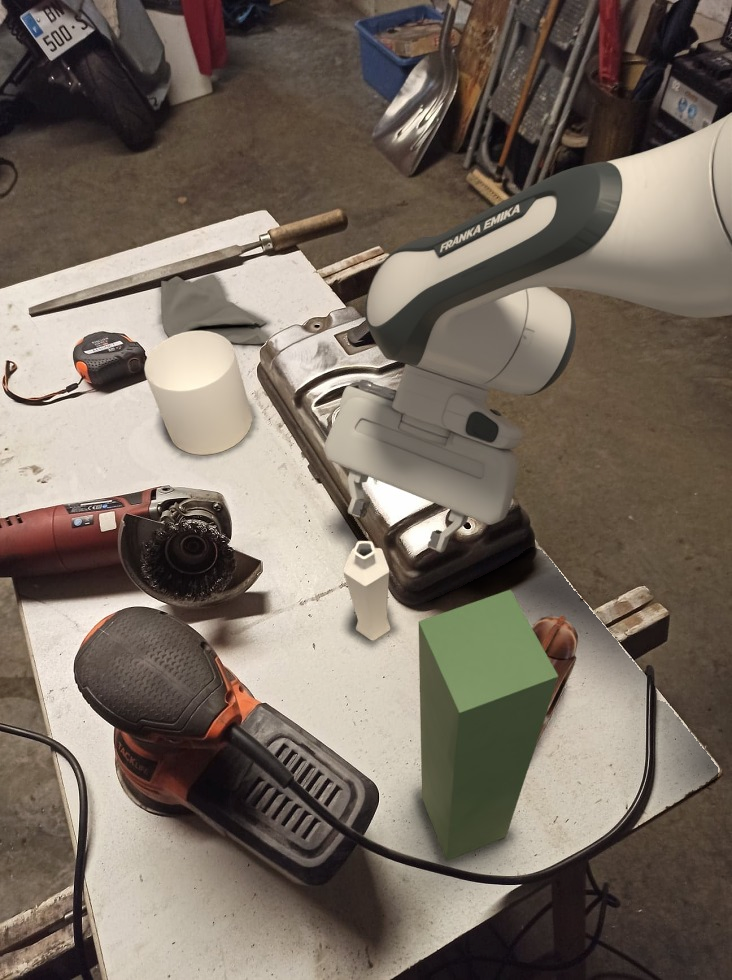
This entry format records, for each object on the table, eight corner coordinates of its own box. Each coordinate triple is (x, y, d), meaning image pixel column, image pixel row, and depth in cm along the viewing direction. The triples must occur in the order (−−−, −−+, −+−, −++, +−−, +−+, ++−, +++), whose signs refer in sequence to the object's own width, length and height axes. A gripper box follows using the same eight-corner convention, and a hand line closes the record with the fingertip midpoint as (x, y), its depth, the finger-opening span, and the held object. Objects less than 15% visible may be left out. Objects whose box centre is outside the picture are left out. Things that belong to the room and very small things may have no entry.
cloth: (132, 296, 124) (128, 285, 122) (204, 264, 128) (201, 252, 127) (205, 378, 110) (202, 367, 108) (283, 339, 114) (281, 327, 113)
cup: (172, 400, 108) (147, 335, 98) (251, 390, 108) (235, 325, 98) (166, 460, 100) (140, 396, 91) (252, 450, 100) (234, 385, 91)
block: (506, 836, 68) (559, 676, 41) (446, 861, 67) (459, 713, 40) (479, 774, 72) (510, 588, 45) (421, 796, 71) (418, 621, 44)
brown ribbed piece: (523, 771, 72) (542, 711, 60) (479, 745, 74) (488, 682, 62) (569, 681, 77) (594, 610, 65) (527, 659, 79) (544, 586, 67)
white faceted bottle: (386, 648, 81) (379, 575, 69) (349, 636, 82) (336, 563, 70) (400, 612, 83) (395, 536, 72) (363, 602, 85) (353, 525, 73)
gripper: (336, 371, 75) (297, 498, 78) (526, 437, 68) (475, 575, 71) (361, 376, 81) (324, 494, 84) (538, 438, 74) (491, 565, 76)
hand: (395, 532), depth 77 cm, fingers open, 8 cm apart
